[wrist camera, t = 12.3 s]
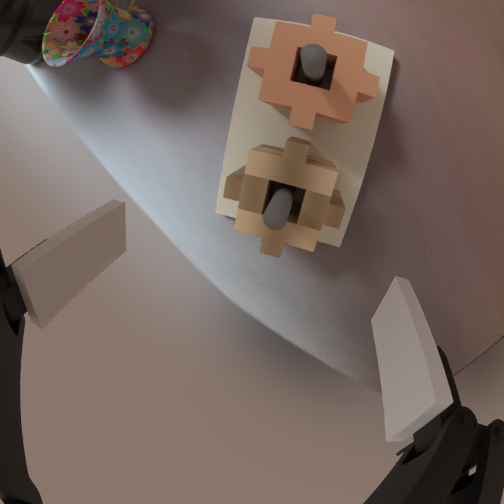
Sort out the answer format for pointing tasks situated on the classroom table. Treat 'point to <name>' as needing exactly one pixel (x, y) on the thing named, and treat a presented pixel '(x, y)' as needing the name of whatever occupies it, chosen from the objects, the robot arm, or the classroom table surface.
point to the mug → (96, 33)
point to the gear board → (320, 138)
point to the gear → (301, 214)
